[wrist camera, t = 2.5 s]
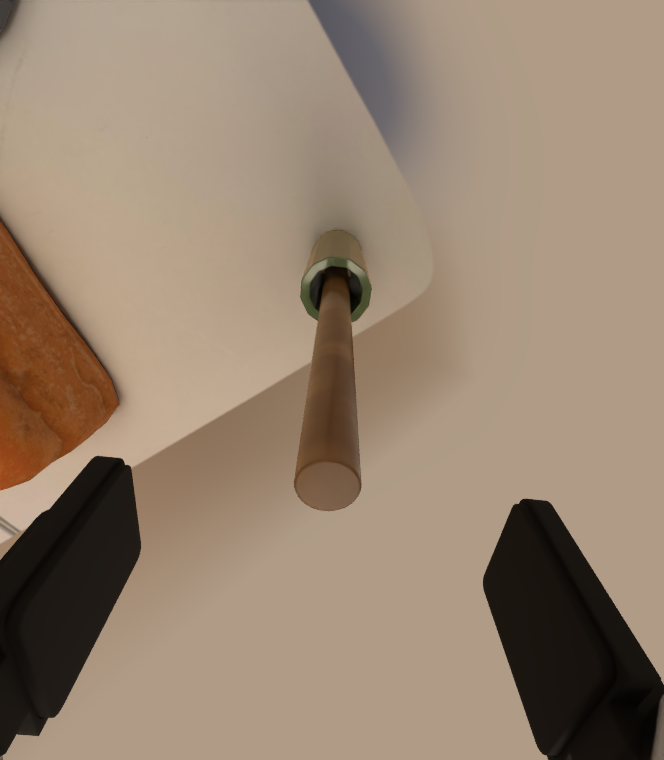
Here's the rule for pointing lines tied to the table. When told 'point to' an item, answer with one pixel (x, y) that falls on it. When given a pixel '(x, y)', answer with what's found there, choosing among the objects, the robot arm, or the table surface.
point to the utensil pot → (340, 253)
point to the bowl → (5, 11)
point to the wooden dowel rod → (330, 406)
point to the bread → (42, 376)
